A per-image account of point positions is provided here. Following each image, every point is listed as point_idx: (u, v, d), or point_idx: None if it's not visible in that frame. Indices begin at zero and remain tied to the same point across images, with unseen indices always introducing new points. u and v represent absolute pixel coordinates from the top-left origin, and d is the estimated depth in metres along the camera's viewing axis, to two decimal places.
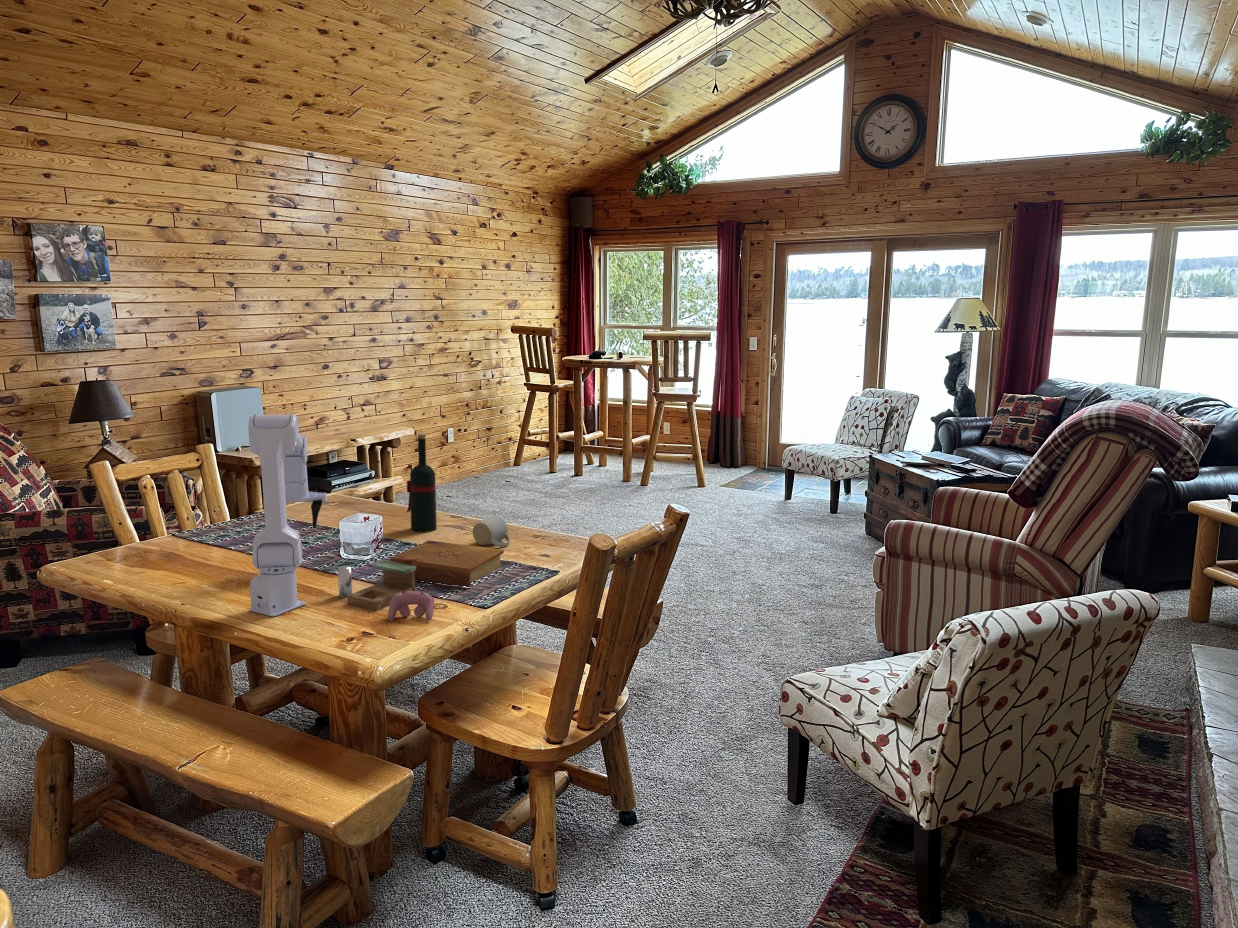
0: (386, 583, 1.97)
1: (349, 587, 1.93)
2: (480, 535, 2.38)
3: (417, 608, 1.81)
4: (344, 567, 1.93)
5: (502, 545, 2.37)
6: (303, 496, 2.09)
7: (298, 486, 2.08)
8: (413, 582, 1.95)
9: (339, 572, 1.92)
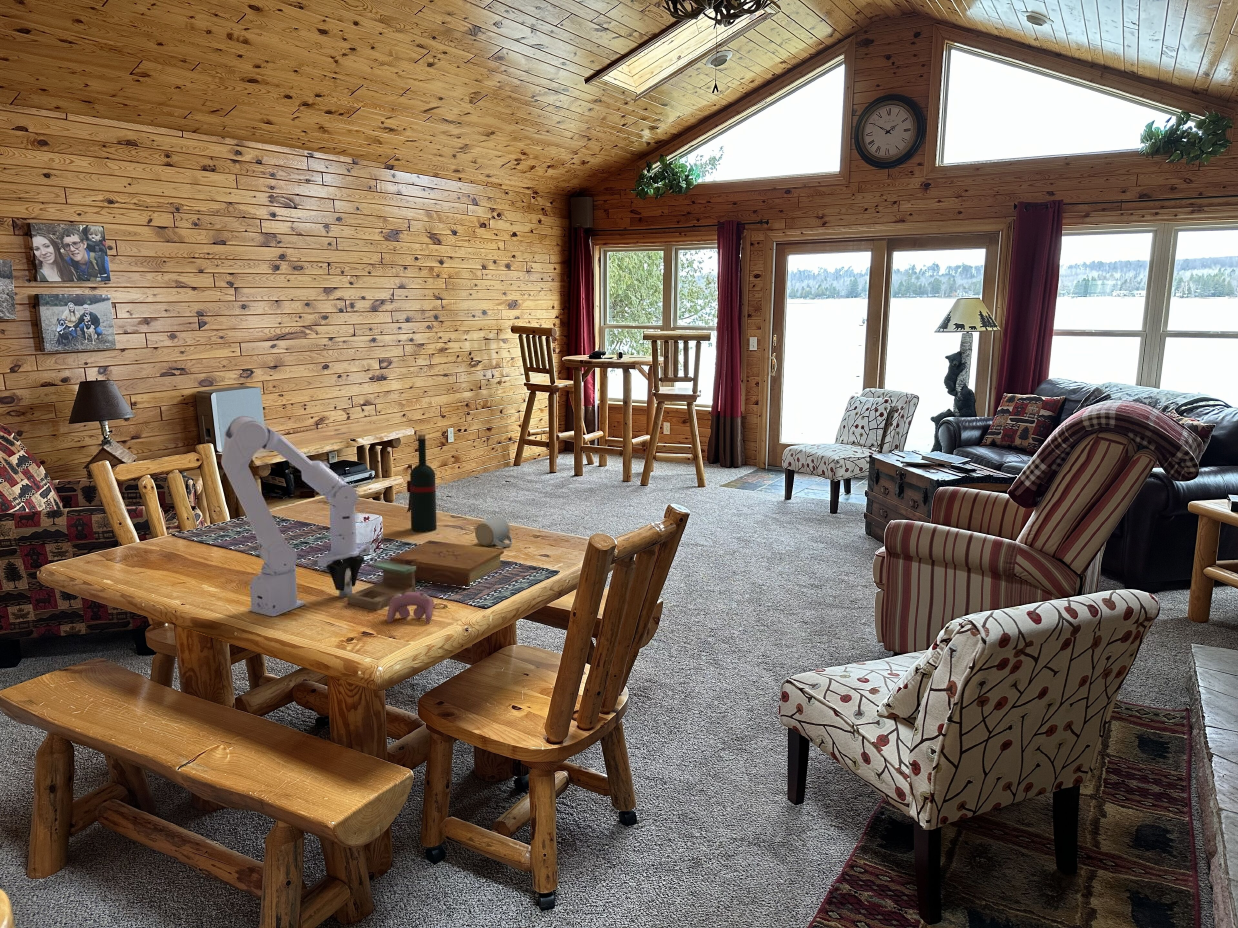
0: (386, 583, 1.97)
1: (349, 587, 1.93)
2: (482, 535, 2.37)
3: (416, 609, 1.80)
4: None
5: (504, 545, 2.36)
6: (331, 549, 1.91)
7: None
8: (413, 582, 1.95)
9: None
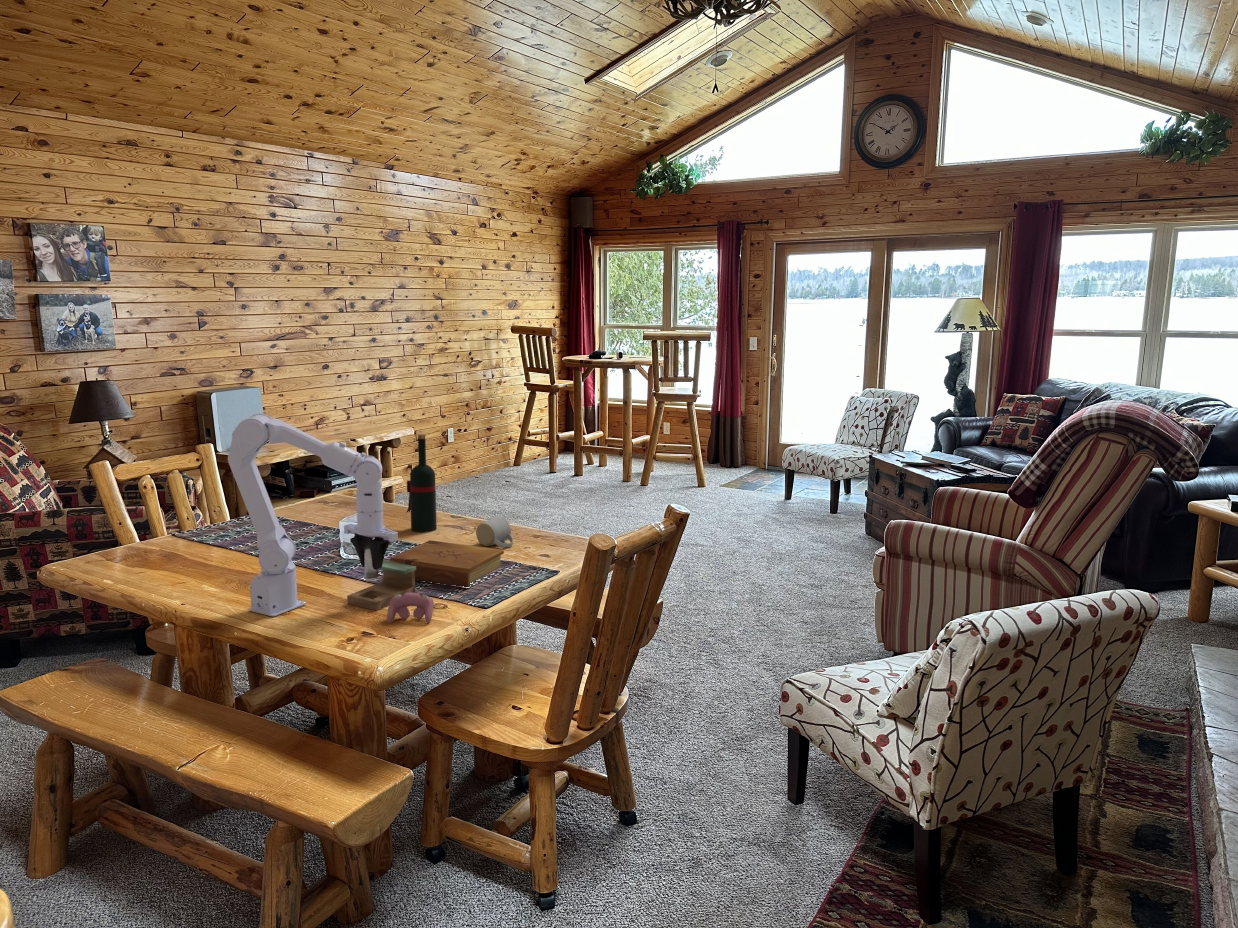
0: (386, 583, 1.97)
1: None
2: (483, 536, 2.37)
3: (416, 610, 1.80)
4: None
5: (505, 546, 2.36)
6: (370, 530, 1.84)
7: (365, 517, 1.83)
8: (413, 582, 1.95)
9: None
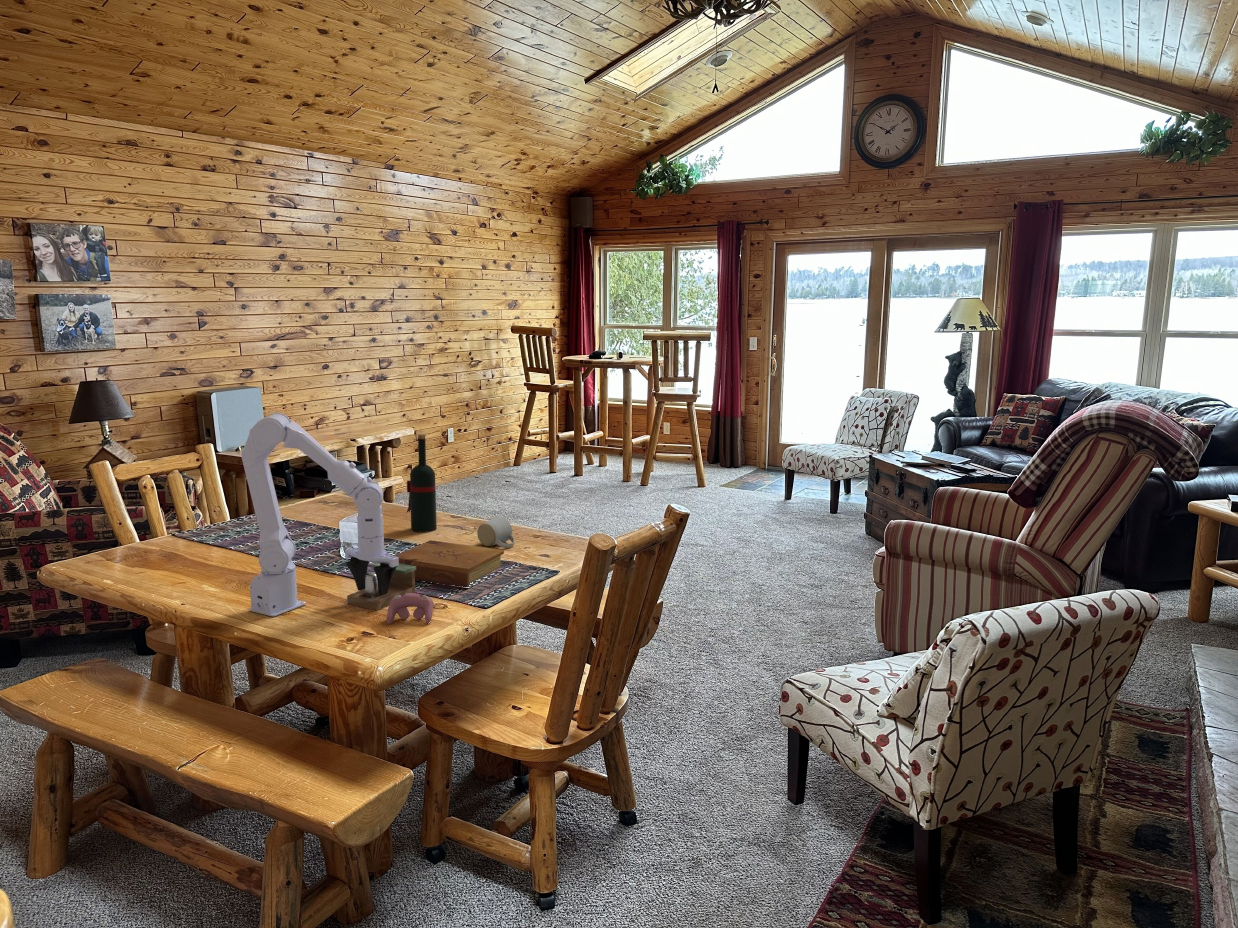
0: None
1: None
2: (484, 536, 2.37)
3: (416, 610, 1.80)
4: (371, 574, 1.88)
5: (507, 546, 2.36)
6: (371, 555, 1.85)
7: (365, 542, 1.84)
8: (413, 582, 1.95)
9: (374, 579, 1.88)
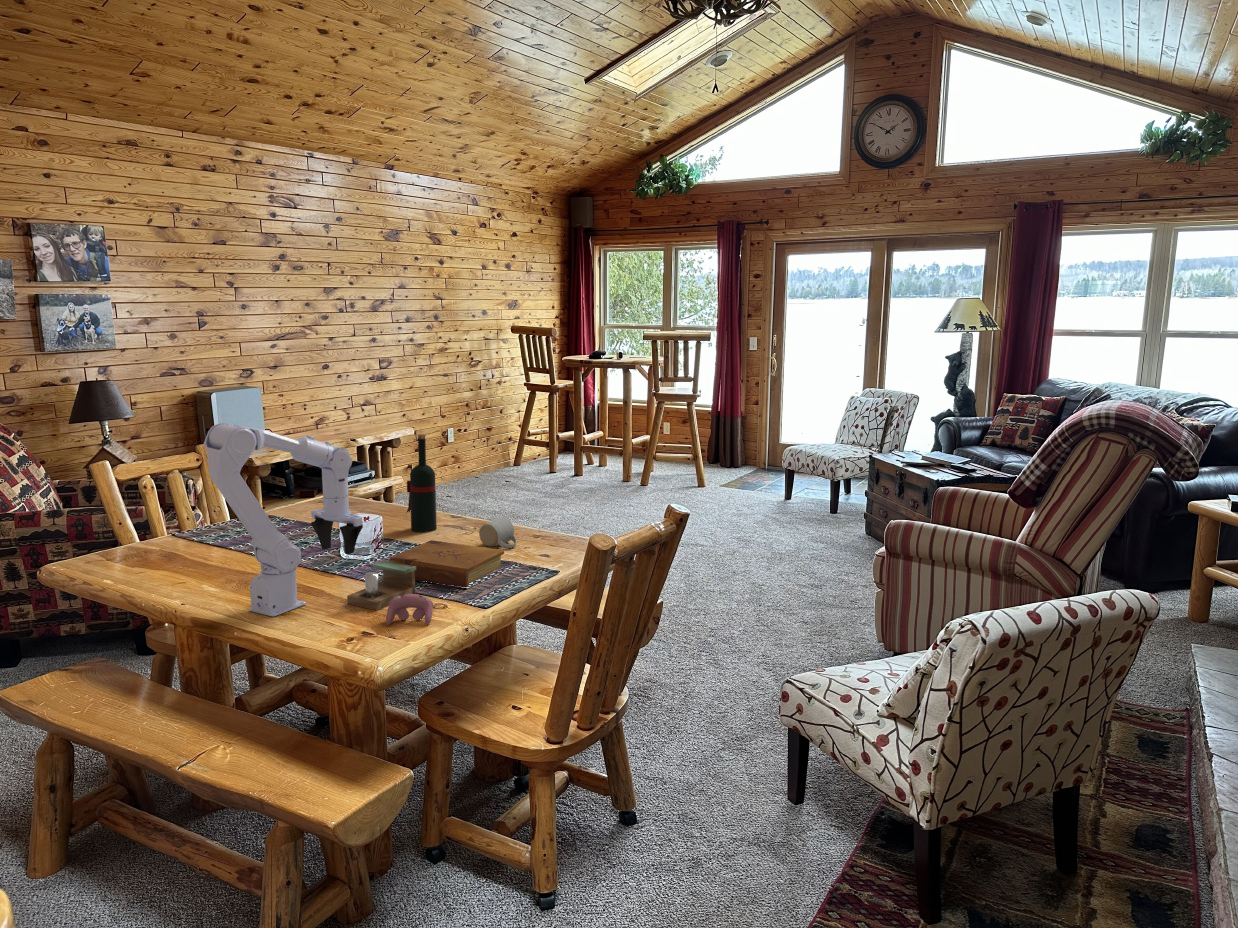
0: (386, 583, 1.97)
1: None
2: (486, 536, 2.36)
3: (416, 611, 1.79)
4: (371, 574, 1.88)
5: (509, 546, 2.35)
6: (335, 515, 1.91)
7: (330, 502, 1.91)
8: (413, 582, 1.95)
9: (374, 579, 1.88)
